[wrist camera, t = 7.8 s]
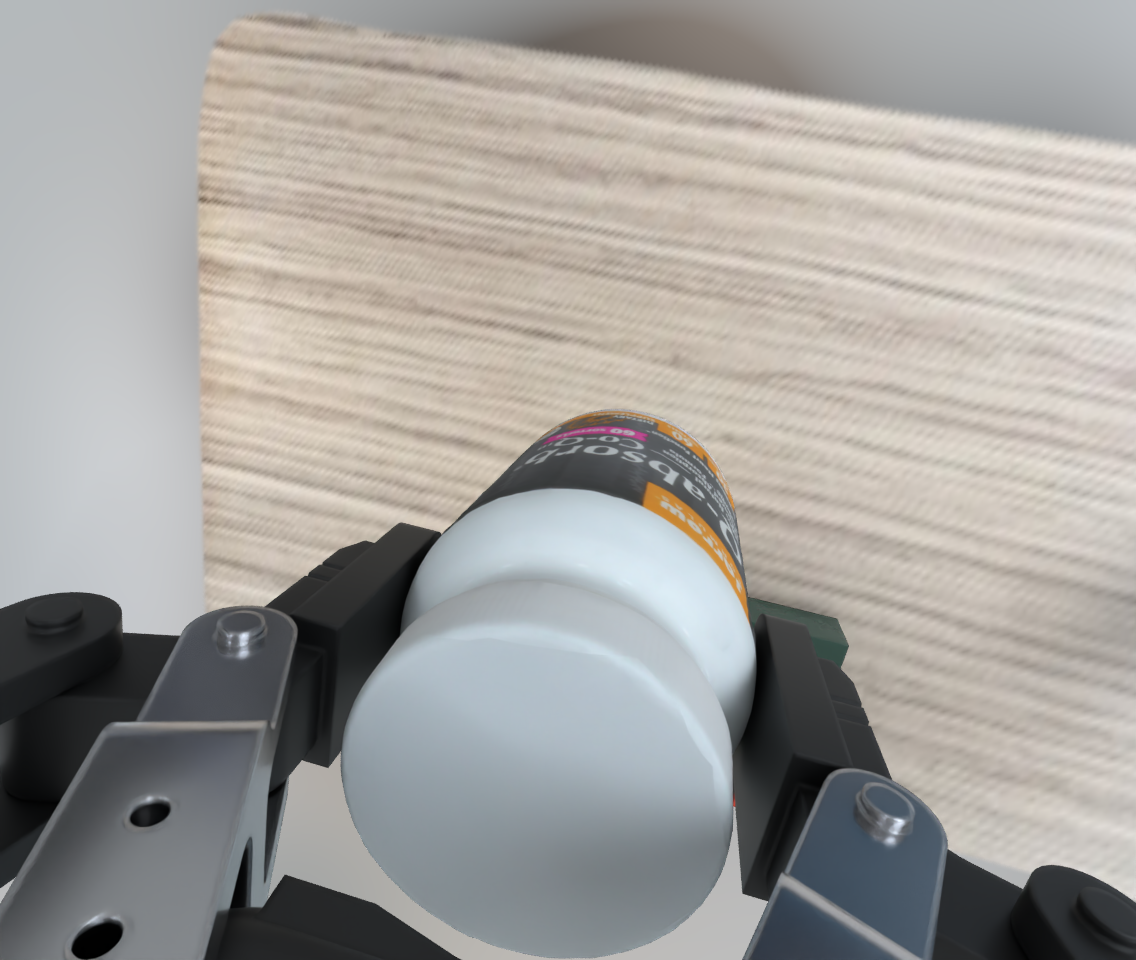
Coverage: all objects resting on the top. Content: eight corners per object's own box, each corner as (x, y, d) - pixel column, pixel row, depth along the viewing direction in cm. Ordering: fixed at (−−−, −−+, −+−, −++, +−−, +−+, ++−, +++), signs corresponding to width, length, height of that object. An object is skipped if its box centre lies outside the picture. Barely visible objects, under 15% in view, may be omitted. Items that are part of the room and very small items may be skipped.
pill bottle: (763, 436, 16) (872, 671, 6) (697, 640, 17) (705, 1057, 8) (534, 379, 16) (319, 516, 7) (493, 582, 18) (281, 909, 9)
